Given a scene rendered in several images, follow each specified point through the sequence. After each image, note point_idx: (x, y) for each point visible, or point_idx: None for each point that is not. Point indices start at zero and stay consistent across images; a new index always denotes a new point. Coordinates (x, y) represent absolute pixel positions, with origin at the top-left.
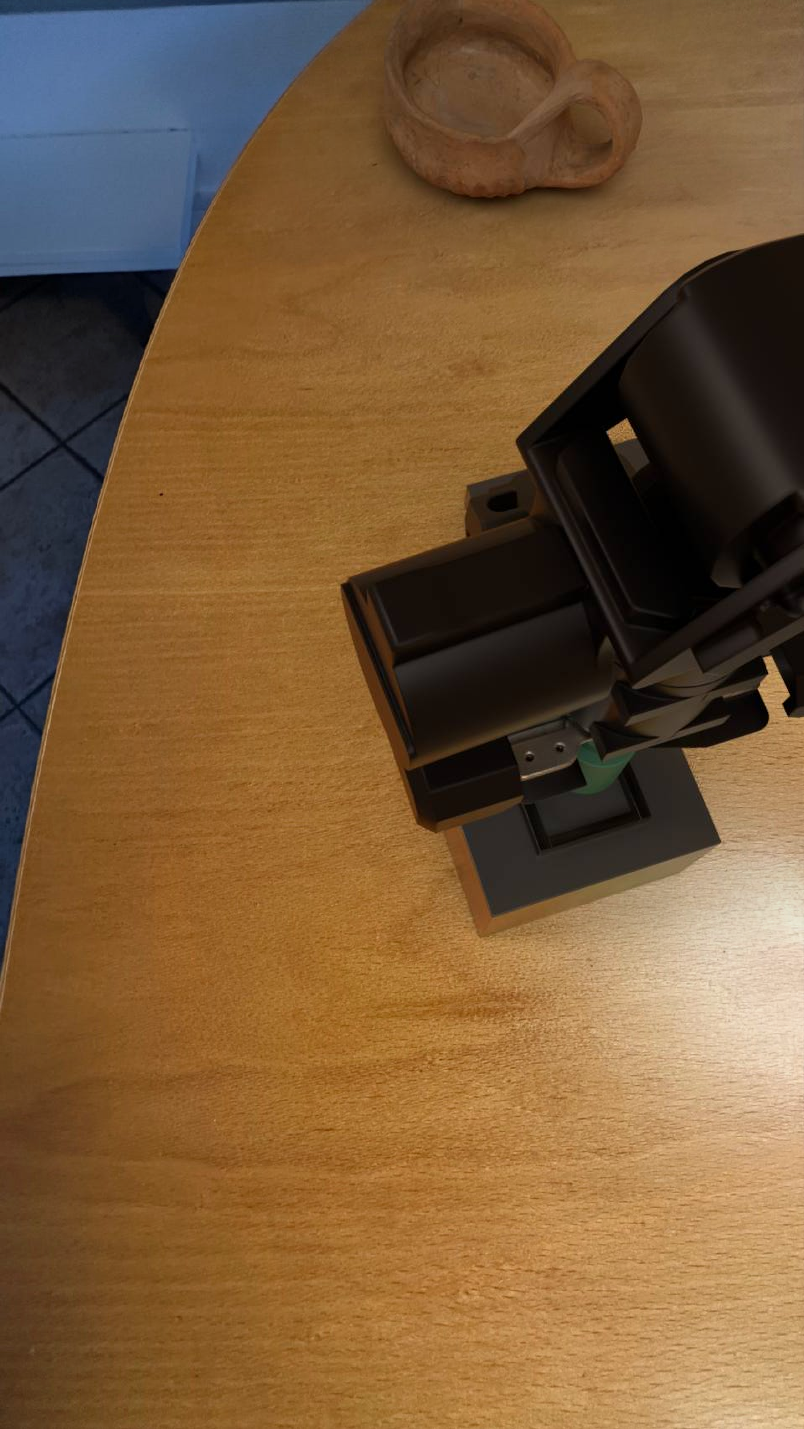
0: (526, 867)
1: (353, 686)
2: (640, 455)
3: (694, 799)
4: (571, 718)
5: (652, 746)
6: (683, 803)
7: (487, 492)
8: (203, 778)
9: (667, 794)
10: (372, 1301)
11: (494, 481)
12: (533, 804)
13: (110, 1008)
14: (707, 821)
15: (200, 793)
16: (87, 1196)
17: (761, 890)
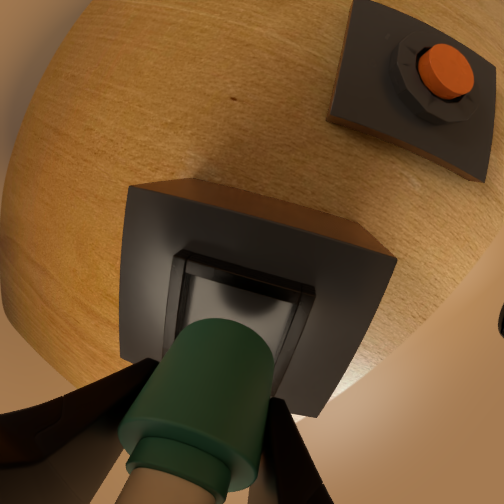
0: (156, 351)
1: (181, 89)
2: (487, 73)
3: (326, 389)
4: (141, 434)
5: (249, 489)
6: (315, 388)
7: (368, 7)
8: (77, 117)
9: (309, 378)
10: (84, 373)
11: (378, 5)
12: (173, 329)
13: (21, 217)
14: (320, 405)
15: (72, 126)
16: (13, 278)
17: (345, 372)
